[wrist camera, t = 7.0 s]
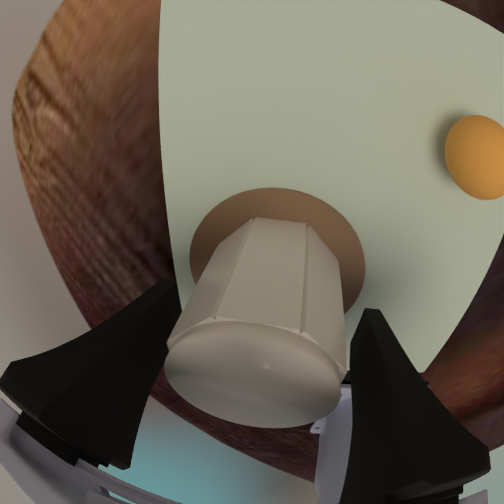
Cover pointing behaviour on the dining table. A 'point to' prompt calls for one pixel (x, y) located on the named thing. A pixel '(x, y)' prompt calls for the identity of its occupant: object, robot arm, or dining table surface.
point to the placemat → (339, 137)
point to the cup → (263, 329)
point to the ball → (477, 156)
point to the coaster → (288, 209)
